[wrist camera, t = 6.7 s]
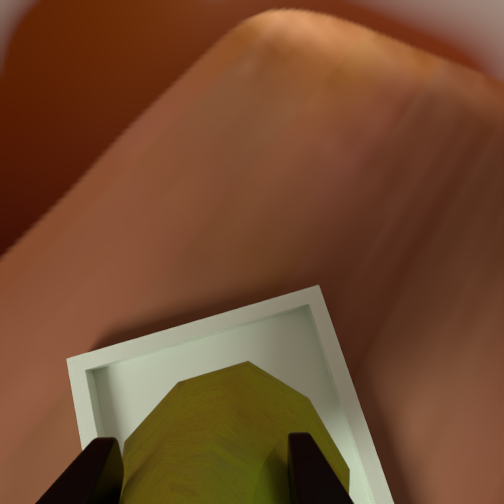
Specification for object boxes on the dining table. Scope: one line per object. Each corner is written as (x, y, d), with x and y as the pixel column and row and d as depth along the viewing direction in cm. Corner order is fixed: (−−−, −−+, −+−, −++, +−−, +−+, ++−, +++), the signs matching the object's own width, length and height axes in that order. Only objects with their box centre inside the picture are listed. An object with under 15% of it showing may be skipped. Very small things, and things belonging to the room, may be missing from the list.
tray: (402, 553, 17) (415, 567, 15) (132, 644, 16) (120, 669, 15) (314, 292, 20) (319, 284, 18) (80, 361, 19) (66, 358, 17)
